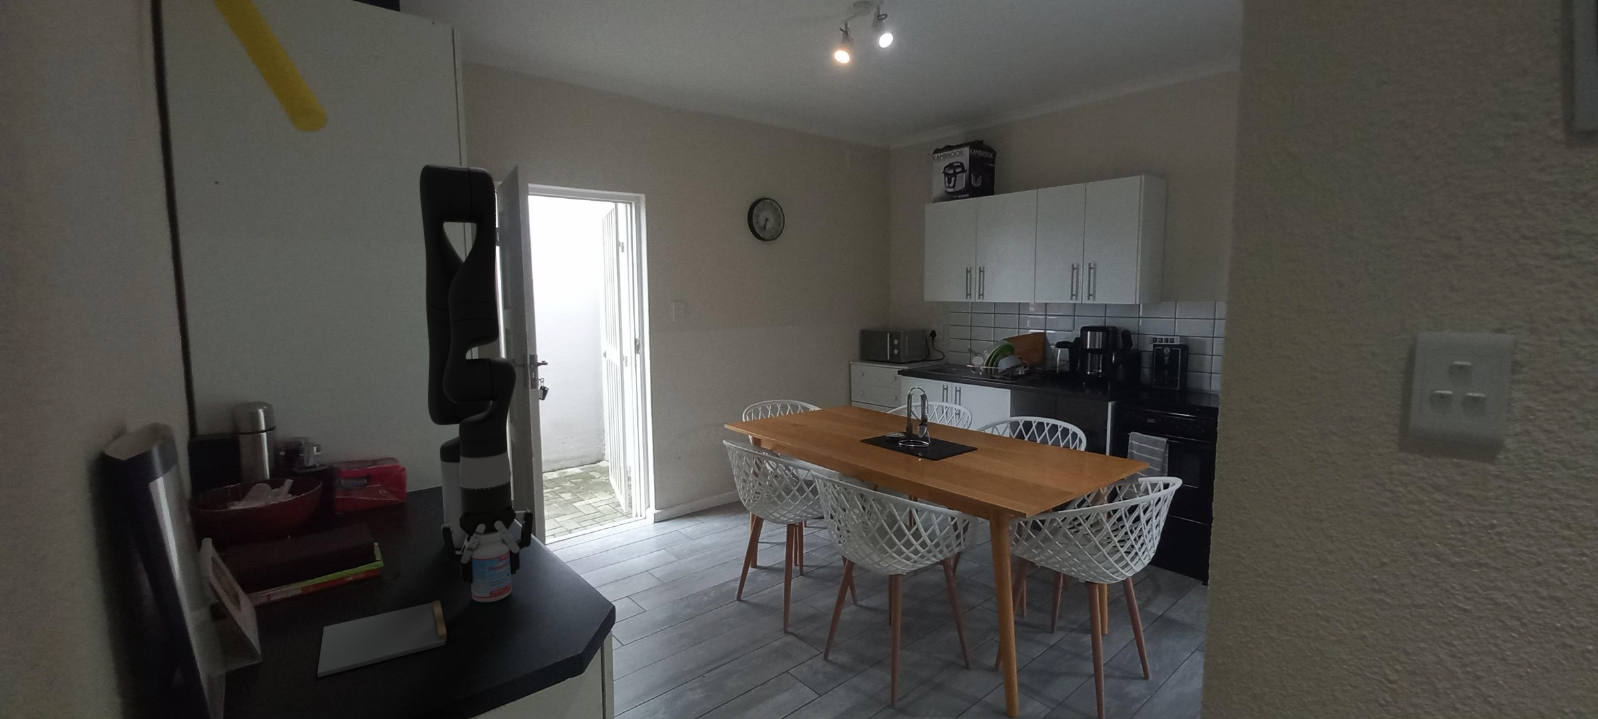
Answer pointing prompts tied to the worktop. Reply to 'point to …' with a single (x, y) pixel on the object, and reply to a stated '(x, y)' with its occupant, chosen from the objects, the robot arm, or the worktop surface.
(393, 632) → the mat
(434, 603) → the bar
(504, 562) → the pill bottle
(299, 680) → the worktop surface
